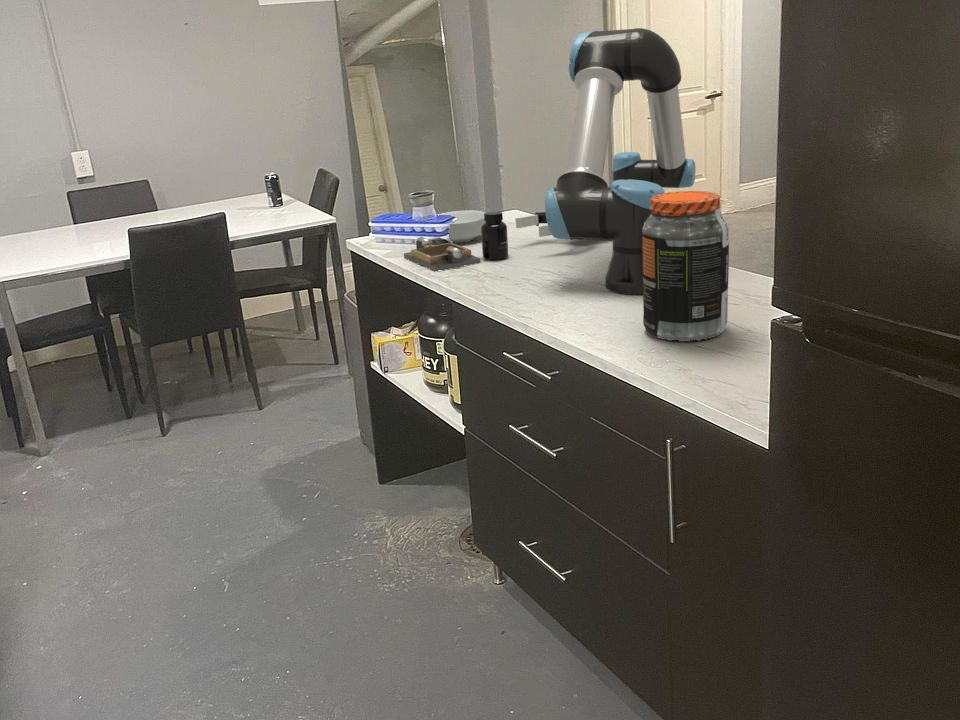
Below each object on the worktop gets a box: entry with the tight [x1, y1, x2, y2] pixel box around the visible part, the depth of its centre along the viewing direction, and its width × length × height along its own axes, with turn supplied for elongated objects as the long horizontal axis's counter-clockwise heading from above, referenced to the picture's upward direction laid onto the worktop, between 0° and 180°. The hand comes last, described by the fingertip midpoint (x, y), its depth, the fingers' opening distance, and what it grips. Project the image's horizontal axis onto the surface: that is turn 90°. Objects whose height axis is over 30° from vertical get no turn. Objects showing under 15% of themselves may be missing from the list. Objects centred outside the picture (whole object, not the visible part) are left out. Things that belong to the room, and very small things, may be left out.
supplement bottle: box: [481, 211, 509, 262], centre depth 236 cm, size 7×7×12 cm
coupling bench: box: [403, 236, 482, 272], centre depth 239 cm, size 21×13×5 cm, turn 28°
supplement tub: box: [642, 190, 730, 342], centre depth 169 cm, size 16×16×26 cm
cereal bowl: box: [436, 209, 486, 243], centre depth 260 cm, size 17×17×7 cm
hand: (527, 227), depth 239 cm, fingers open, 13 cm apart
